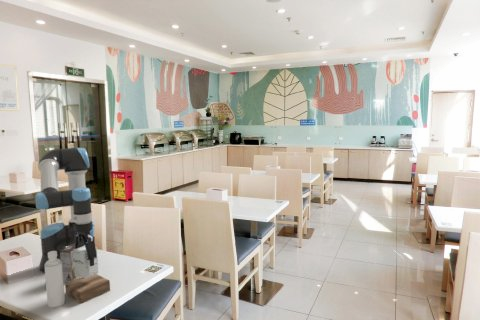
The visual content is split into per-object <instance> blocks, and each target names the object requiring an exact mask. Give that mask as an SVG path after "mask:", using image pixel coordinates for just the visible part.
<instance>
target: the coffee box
mask: <svg viewBox="0 0 480 320" xmlns="http://www.w3.org/2000/svg"><path fill="white" fill-rule="evenodd" d="M74 249H75V245H70V246H66V248H65V249H63V250H61V251H60V260H61V262H62V270H63V282H64V283H68V282H71V281H73V280H76V279H78V278H81V277H79V276H75V265H74V251H73V250H74Z"/></svg>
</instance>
